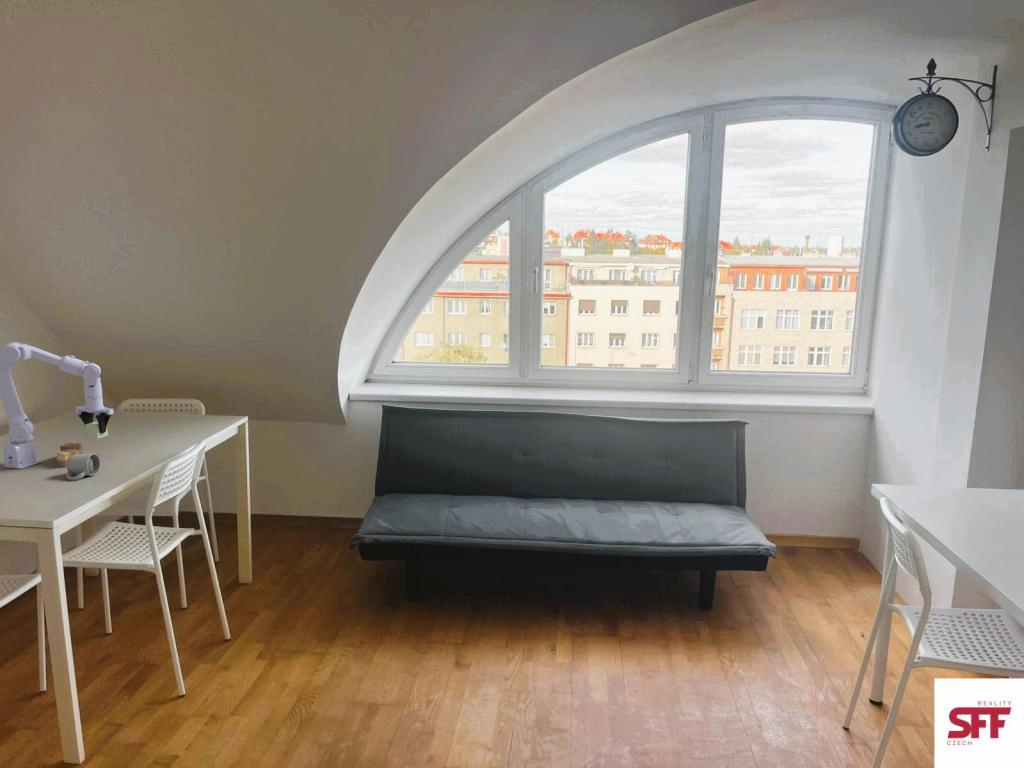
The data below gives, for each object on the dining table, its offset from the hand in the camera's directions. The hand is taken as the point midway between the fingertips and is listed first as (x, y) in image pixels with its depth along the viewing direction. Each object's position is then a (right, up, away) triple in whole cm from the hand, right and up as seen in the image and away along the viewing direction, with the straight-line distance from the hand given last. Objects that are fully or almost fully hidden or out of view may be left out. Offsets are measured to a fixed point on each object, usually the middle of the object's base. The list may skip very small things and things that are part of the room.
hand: (96, 432), depth 278 cm
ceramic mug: (+6, -14, -20) cm, 25 cm away
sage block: (0, -2, 0) cm, 2 cm away
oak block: (-6, -11, -7) cm, 15 cm away
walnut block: (-10, -10, +2) cm, 14 cm away
